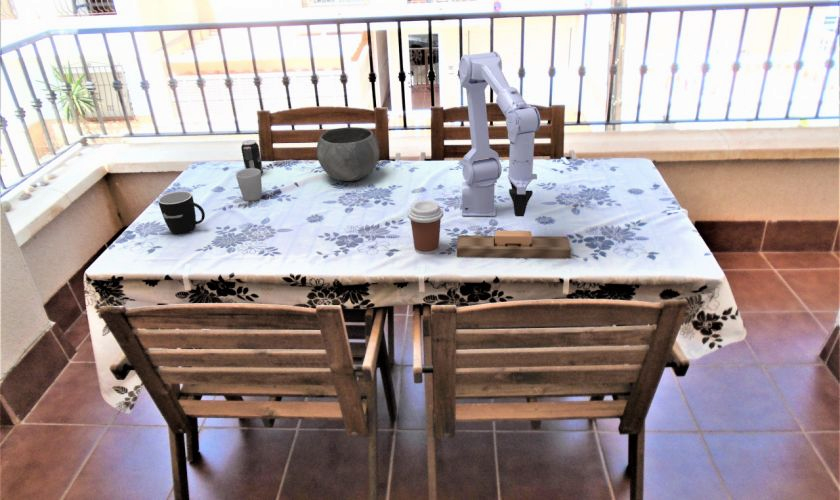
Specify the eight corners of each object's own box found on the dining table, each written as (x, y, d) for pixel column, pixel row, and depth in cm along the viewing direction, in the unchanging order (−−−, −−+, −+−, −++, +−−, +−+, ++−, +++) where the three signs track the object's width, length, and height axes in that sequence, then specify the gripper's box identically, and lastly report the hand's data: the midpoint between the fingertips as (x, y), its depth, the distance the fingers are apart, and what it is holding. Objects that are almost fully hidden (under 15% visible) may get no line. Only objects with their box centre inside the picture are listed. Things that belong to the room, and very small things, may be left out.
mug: (160, 236, 167) (151, 203, 162) (176, 222, 175) (168, 190, 170) (200, 238, 166) (192, 204, 161) (215, 223, 173) (207, 191, 169)
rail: (456, 256, 151) (456, 248, 149) (457, 243, 157) (457, 235, 155) (570, 258, 148) (570, 249, 146) (566, 245, 154) (567, 236, 153)
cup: (236, 202, 186) (231, 177, 182) (248, 190, 195) (243, 165, 191) (260, 202, 185) (255, 177, 181) (270, 190, 194) (266, 165, 190)
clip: (494, 253, 151) (495, 236, 149) (494, 248, 154) (495, 230, 152) (530, 254, 150) (531, 236, 148) (530, 248, 153) (531, 231, 151)
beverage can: (258, 171, 210) (252, 138, 204) (266, 175, 206) (260, 141, 200) (243, 175, 207) (237, 142, 201) (251, 179, 203) (245, 145, 197)
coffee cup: (441, 257, 151) (440, 214, 145) (406, 255, 152) (403, 213, 146) (446, 240, 158) (445, 199, 153) (412, 239, 160) (410, 198, 154)
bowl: (307, 182, 199) (301, 138, 192) (347, 162, 214) (343, 121, 207) (353, 194, 189) (349, 148, 181) (393, 173, 203) (390, 130, 196)
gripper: (540, 169, 138) (536, 222, 144) (536, 148, 150) (533, 197, 157) (509, 169, 138) (507, 221, 145) (507, 148, 151) (506, 197, 158)
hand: (518, 209), depth 151 cm, fingers open, 7 cm apart
